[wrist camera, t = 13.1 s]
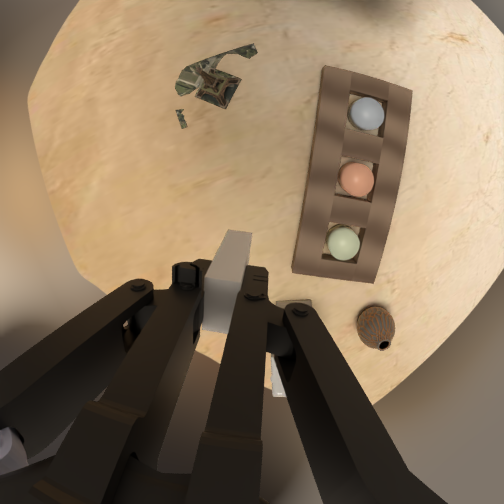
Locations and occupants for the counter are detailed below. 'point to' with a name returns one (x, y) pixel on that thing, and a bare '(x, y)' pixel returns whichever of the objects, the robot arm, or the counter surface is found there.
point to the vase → (376, 328)
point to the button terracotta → (356, 179)
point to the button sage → (342, 242)
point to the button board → (326, 172)
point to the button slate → (366, 114)
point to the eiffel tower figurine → (210, 80)
